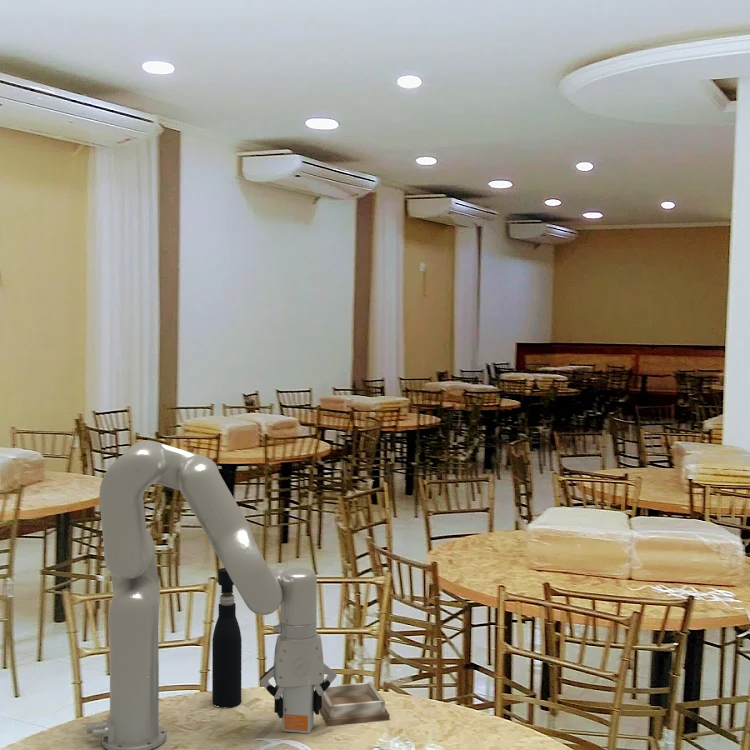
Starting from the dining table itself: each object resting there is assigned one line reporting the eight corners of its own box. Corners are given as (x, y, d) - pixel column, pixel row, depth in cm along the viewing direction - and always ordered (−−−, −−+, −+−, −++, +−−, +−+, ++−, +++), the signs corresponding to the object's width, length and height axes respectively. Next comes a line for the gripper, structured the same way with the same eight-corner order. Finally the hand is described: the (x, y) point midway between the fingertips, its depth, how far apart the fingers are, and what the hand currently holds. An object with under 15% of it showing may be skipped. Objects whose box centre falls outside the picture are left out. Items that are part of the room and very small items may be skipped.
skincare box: (281, 732, 193) (281, 674, 192) (286, 724, 197) (286, 667, 196) (310, 734, 192) (310, 676, 191) (314, 726, 196) (314, 669, 196)
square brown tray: (327, 725, 196) (327, 708, 196) (314, 702, 209) (314, 685, 209) (389, 719, 199) (389, 702, 199) (373, 696, 213) (373, 680, 212)
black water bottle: (235, 709, 205) (235, 573, 204) (207, 706, 206) (208, 572, 205) (245, 698, 211) (245, 566, 210) (218, 696, 212) (218, 565, 211)
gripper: (259, 637, 188) (258, 725, 188) (343, 631, 192) (342, 717, 193) (254, 627, 195) (254, 711, 196) (335, 621, 200) (335, 703, 200)
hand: (298, 713), depth 194 cm, fingers closed on skincare box, 7 cm apart
